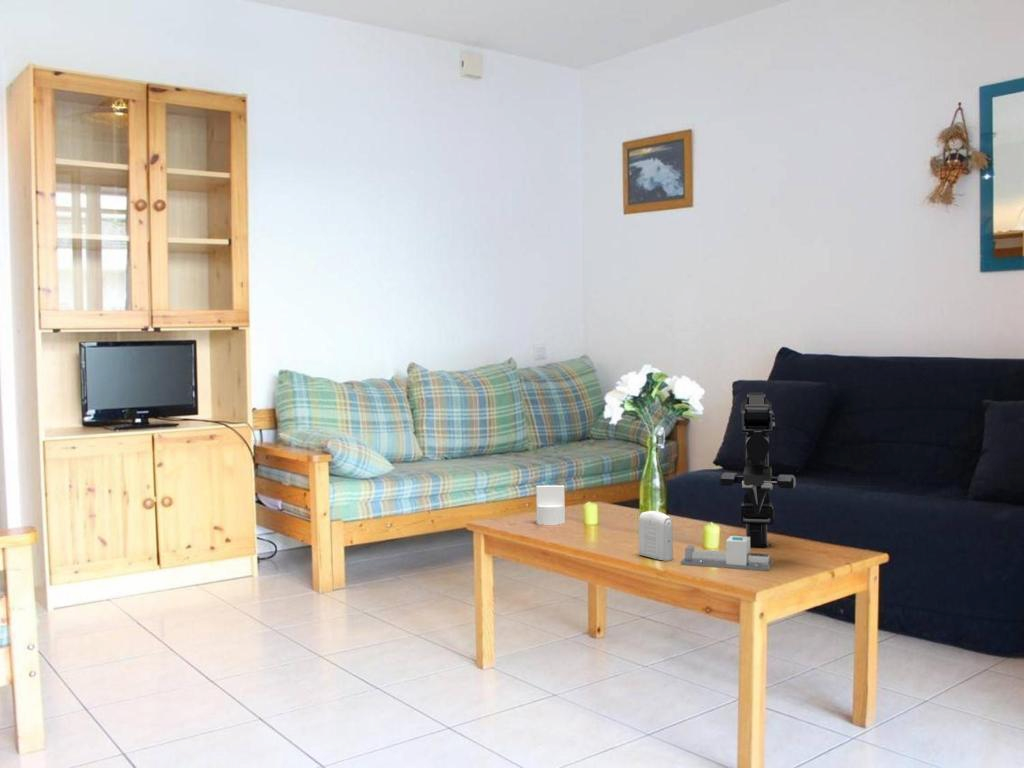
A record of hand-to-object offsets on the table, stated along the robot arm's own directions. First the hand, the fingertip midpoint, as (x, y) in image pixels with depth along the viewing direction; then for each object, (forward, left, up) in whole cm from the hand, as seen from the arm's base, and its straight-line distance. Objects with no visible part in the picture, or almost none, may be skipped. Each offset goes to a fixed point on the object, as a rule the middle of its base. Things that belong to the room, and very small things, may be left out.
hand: (757, 513), depth 251 cm
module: (+6, -4, -12) cm, 14 cm away
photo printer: (+4, -26, -13) cm, 29 cm away
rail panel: (+6, -7, -12) cm, 16 cm away
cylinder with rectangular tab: (-33, -69, -13) cm, 78 cm away
